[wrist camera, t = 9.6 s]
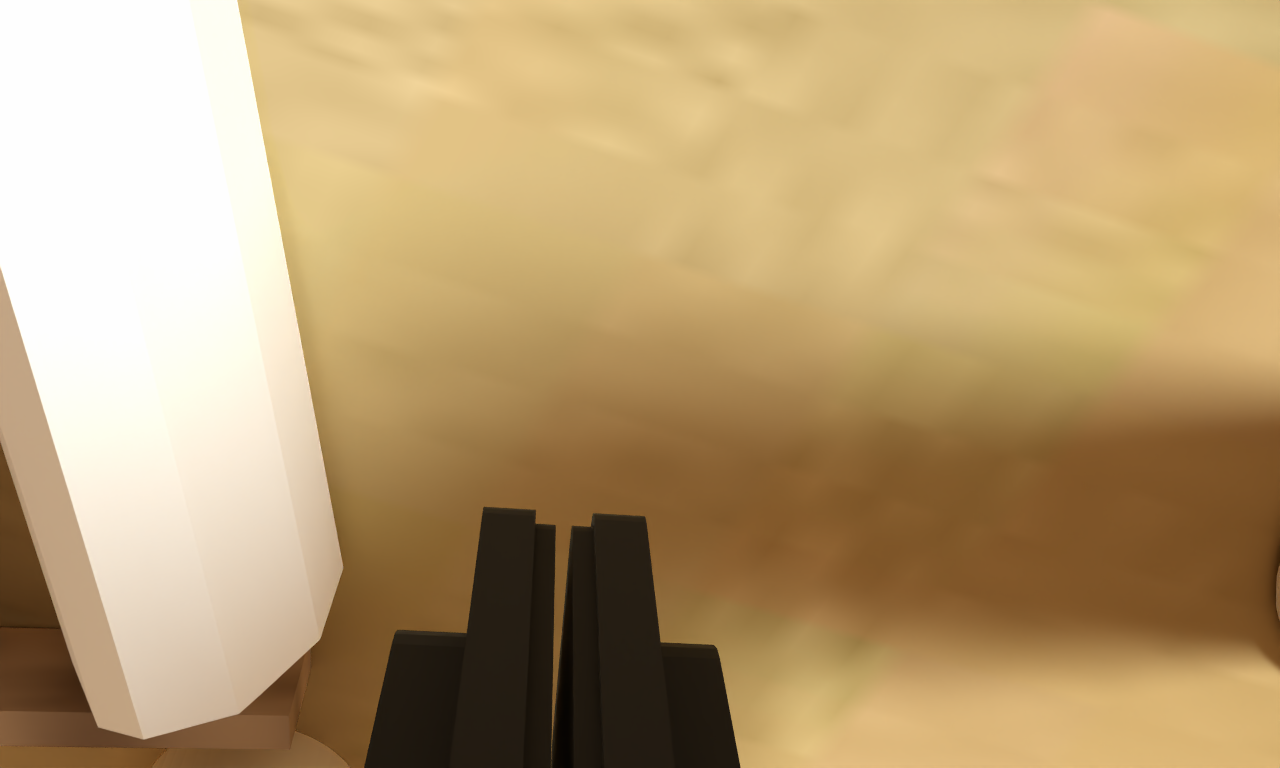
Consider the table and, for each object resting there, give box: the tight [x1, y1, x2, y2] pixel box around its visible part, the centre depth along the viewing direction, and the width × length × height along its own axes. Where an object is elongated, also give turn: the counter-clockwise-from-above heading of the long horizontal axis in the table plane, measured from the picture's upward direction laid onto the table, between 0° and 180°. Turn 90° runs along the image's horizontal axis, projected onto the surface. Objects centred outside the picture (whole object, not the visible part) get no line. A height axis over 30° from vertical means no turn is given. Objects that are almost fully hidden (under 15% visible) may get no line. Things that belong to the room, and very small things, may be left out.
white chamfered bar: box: [0, 0, 343, 740], centre depth 27 cm, size 7×7×24 cm
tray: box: [0, 627, 311, 750], centre depth 26 cm, size 11×32×4 cm, turn 174°
